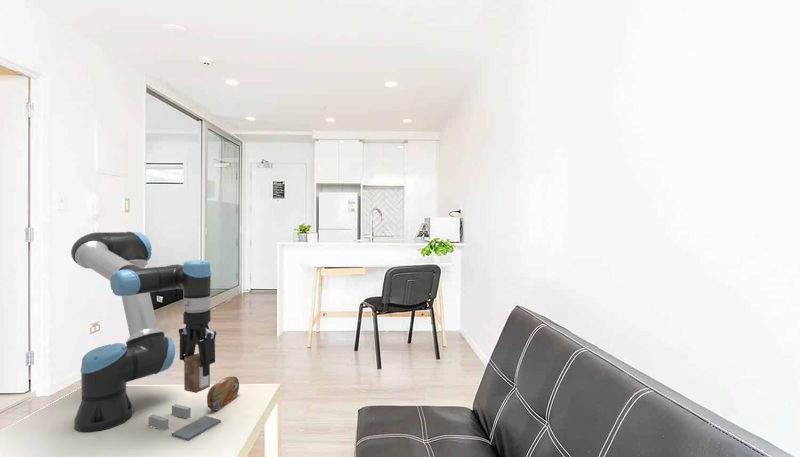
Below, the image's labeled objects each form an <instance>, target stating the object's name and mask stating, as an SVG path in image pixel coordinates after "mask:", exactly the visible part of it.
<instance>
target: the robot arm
mask: <svg viewBox="0 0 800 457" xmlns="http://www.w3.org/2000/svg"><path fill="white" fill-rule="evenodd" d="M70 254H71V255H70V256H71V258H72V259H73V261H74V263H75V264H77V265H79V266H80V267H82V268H84V269H91V270H93V271H94V272H95V273H97V274H98V275H100V276H102V277H103V278H105V279H107V280H108V281H109V284H110V289H111V291H112V293H113V294H114V295H115V296H117V297H121V300H122V305H123V306H122V307H123V310H124V314H125V319H126V324H127V329H128V333H129V337H128V339H127V340H126V342H125V343H121V342H120V343H119V342H118V343H117V342H115V343H110V344H106V345H102V346H98V347H96V348H94V349H93V348H92V349H91V350H89V351H88V352H86V353H85V354H84V355H83V357H82V358H81V367H80V373H81V376H80V377H81V380H80V381H81V382H80V383H81V385H80V386H81V387H80V388H81V389H80V390H81V400H80V405H79V407H78V410H77V412H76V415H75V418H74V422H73V423H74V425H73V426H74V429H75V430H76V431H78V432H82V433H92V432H98V431H104V430H107V429H110V428H113V427H116V426H118V425H121V424H123V423H125V422H127V421H129V419H130V418H131V417H132V416H133V404H132V403H131V400H130V398H129V396H128V392H127V383H128V382H133V381H135V380H139V379H142V378H145V377H149V376H152V375H157V374H159V373H161V372H164V371H167V370H168V369H170V368H171V367H172V366H173V363H174V359H175V356H176V345H175V342H174V340H173V338H172V337H170V336H165V332H164V331H163V330H161V329H160V328H158V323H157V319H156V314H155V310H154V305H153V302H152V296H151V293H154V292H155V293H156V292H164V291H171V290H177V289H178V290H182V292H183V296H182V297H183V310H184V312H183V318H182V319H183V320H182V321H183V325H185V327H182V328H178V335H179V360H180V361H183V362H184V358H186V357H189V356H192V355H194V354H196V353H195V352H196V346H197V348H198V353H199V354H200V360H201V365H200V366H199V388H202V387H204V386H207V385H209V382H208V375H209V374H211V370H210V369H211V365H212V364H215V362H216V337H217V332H216V331H212V330H210V326H209V323H210V322H211V317H212V316H211V310H210V309H211V307H212V306H211V304H212V303H211V281H212V280H211V279H212V278H211V276H212V271H211V263H210V261H209V260H205V259H196V260H187V261H184V263H183V264H178V263H177V264H168V265H165V266H156V267H155V266H154V267H146V266H147V265H148V264H149V262H148V261H149V260H150V259H151V257H152V254H153V253H152V244H151V242H150V239H149V238H148V237H147V236H146V235H145V234H143V233H142V232H138V231H135V232H134V231H126V232H124V231H114V232H113V231H111V232H102V231H100V232H92V233H88V234H86V235H83V236H81V237H79V238H78V239H77V240H76V241H75V242H74V243H73V245H72V247H71V251H70ZM205 361H206V362H205ZM209 370H210V371H209Z"/></svg>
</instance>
